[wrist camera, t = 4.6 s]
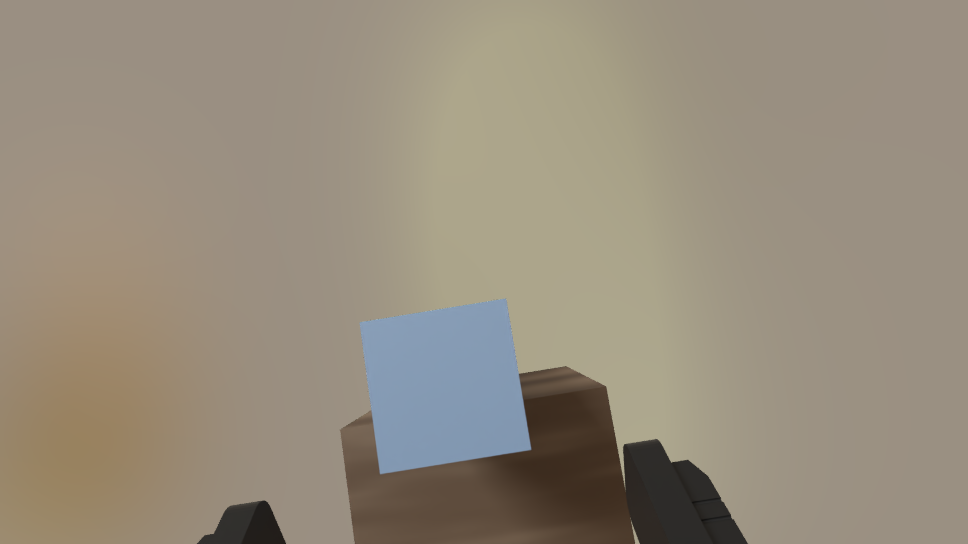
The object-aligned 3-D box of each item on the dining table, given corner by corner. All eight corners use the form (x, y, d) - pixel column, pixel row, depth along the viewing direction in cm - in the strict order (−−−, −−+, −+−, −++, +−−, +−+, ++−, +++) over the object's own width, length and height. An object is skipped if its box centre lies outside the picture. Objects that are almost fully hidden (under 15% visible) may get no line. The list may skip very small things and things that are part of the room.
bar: (531, 449, 14) (505, 298, 14) (380, 474, 14) (359, 322, 14) (509, 375, 38) (500, 319, 38) (453, 384, 38) (445, 328, 38)
